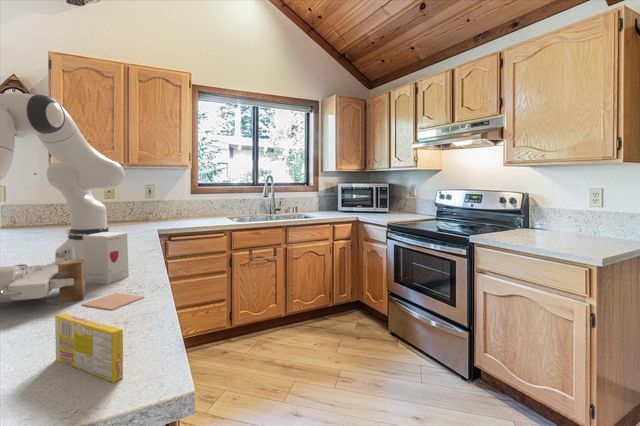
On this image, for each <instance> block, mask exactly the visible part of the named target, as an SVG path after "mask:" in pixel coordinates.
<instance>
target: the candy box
mask: <svg viewBox="0 0 640 426" xmlns="http://www.w3.org/2000/svg"><path fill="white" fill-rule="evenodd" d="M54 325H55V328H54V329H55V331H54V333H55V361H58V362H60V363H62V364H65V365H67V366H70V367H73V368H75V369H78V370H80V371H83V372H85V373H88V374H90V375H93V376H95V377H98V378H101V379H103V380H105V381H108V382H111V383H112V384H114V383H116V382H118V381H120V380H121V379H123V378H124V340H123V339H124V332H123V331H124V330H123V329H121V328H118V327H115V326H111V325H107V324H103V323H100V322H98V321H97V322H96V321H93V320H90V319H86V318H84V317H79V316H75V315H72V314H69V313H64V312H63V313H61V314H56V315H55V317H54Z"/></svg>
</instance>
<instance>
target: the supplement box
mask: <svg viewBox="0 0 640 426" xmlns="http://www.w3.org/2000/svg"><path fill="white" fill-rule="evenodd" d="M128 246H129V245H128V232H117V231H116V232H113V231H109V232H101V233H95V234H89V235H83V259H84V264H85V283H89V284H90V283H91V284H102V285H109V284H113V283H115V282H117V281H121V280H123V279H126V278H129V252H128V251H129V247H128Z"/></svg>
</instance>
